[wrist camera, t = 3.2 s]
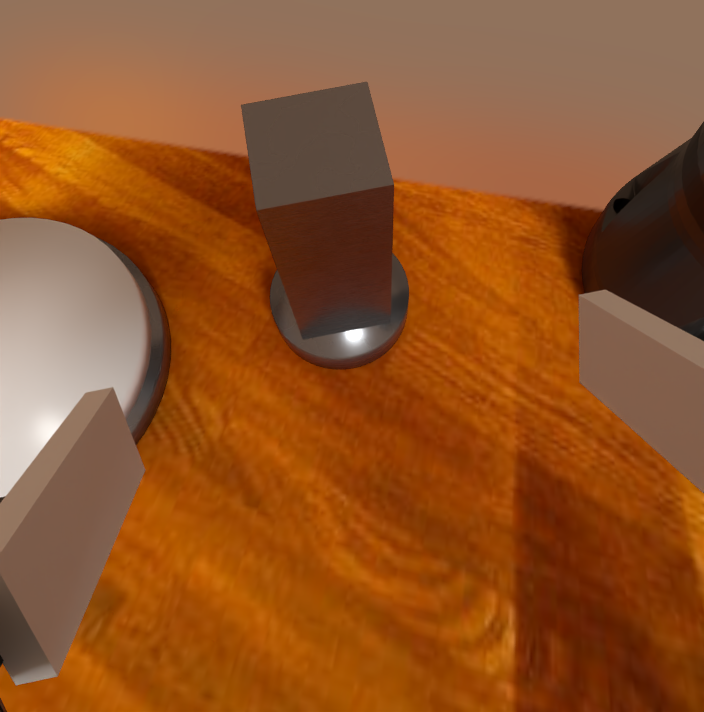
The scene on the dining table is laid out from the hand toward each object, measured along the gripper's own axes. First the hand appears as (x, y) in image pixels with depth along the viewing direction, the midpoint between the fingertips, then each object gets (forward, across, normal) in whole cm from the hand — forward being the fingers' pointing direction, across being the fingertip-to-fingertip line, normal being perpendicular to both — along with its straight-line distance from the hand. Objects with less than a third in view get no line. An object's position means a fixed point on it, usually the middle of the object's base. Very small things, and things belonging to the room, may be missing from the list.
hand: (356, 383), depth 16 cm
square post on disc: (+18, 0, -4) cm, 19 cm away
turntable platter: (+17, -19, -2) cm, 26 cm away
